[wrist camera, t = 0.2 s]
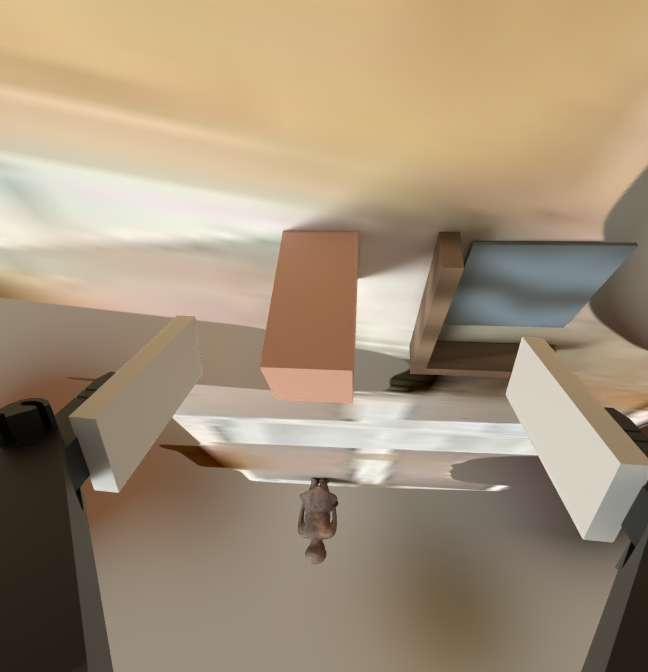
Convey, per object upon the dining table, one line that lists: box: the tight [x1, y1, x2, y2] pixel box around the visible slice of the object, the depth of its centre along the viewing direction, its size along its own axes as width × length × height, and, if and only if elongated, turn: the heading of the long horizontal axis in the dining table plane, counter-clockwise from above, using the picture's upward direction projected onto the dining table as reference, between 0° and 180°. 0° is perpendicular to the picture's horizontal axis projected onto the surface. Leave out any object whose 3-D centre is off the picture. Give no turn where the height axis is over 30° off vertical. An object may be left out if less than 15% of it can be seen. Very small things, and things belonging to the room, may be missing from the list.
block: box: [260, 231, 358, 403], centre depth 30 cm, size 6×6×12 cm
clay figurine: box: [298, 479, 338, 564], centre depth 126 cm, size 13×10×25 cm
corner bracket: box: [410, 232, 638, 378], centre depth 36 cm, size 19×16×4 cm
